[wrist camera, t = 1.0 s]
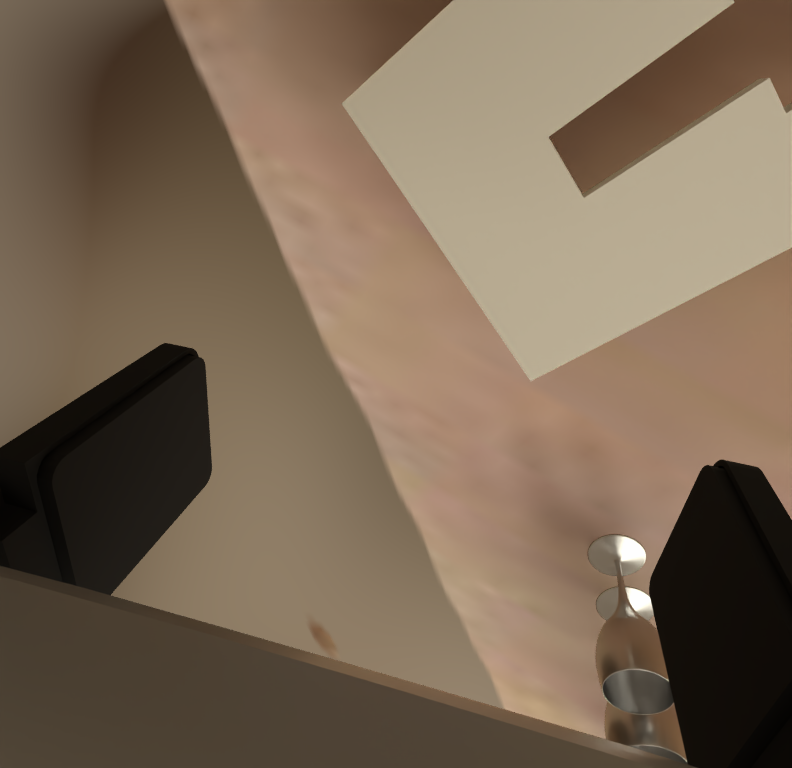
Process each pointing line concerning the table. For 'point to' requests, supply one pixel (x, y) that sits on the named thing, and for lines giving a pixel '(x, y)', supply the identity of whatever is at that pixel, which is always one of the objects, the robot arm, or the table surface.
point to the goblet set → (632, 657)
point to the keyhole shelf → (552, 182)
